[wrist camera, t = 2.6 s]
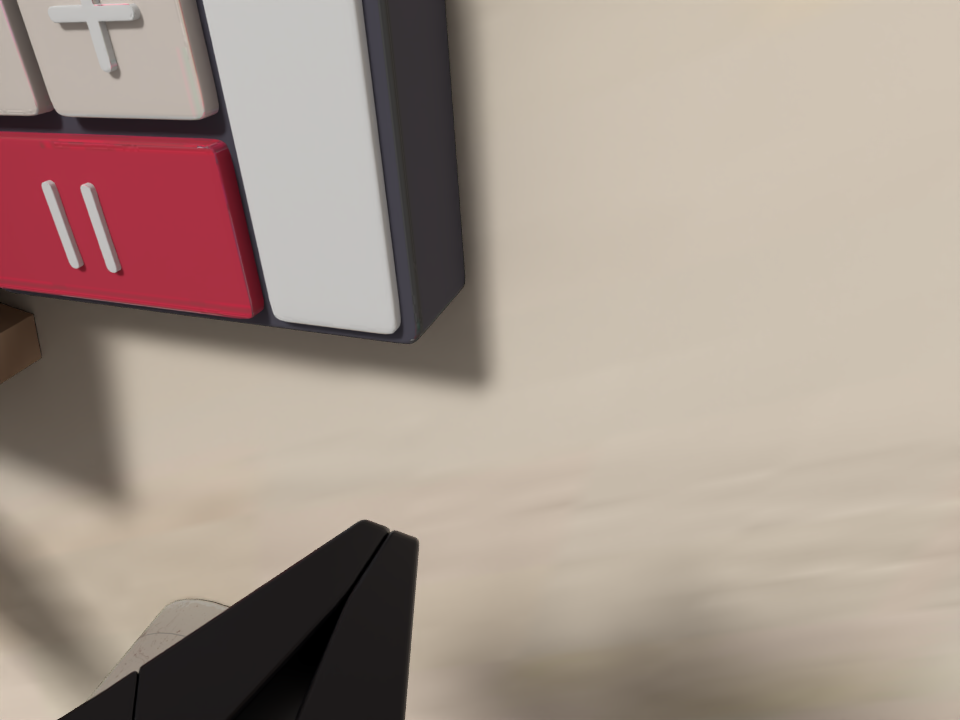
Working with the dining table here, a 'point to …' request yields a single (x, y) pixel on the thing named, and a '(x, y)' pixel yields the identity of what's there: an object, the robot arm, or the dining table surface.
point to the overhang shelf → (17, 341)
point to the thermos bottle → (163, 635)
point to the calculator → (233, 160)
